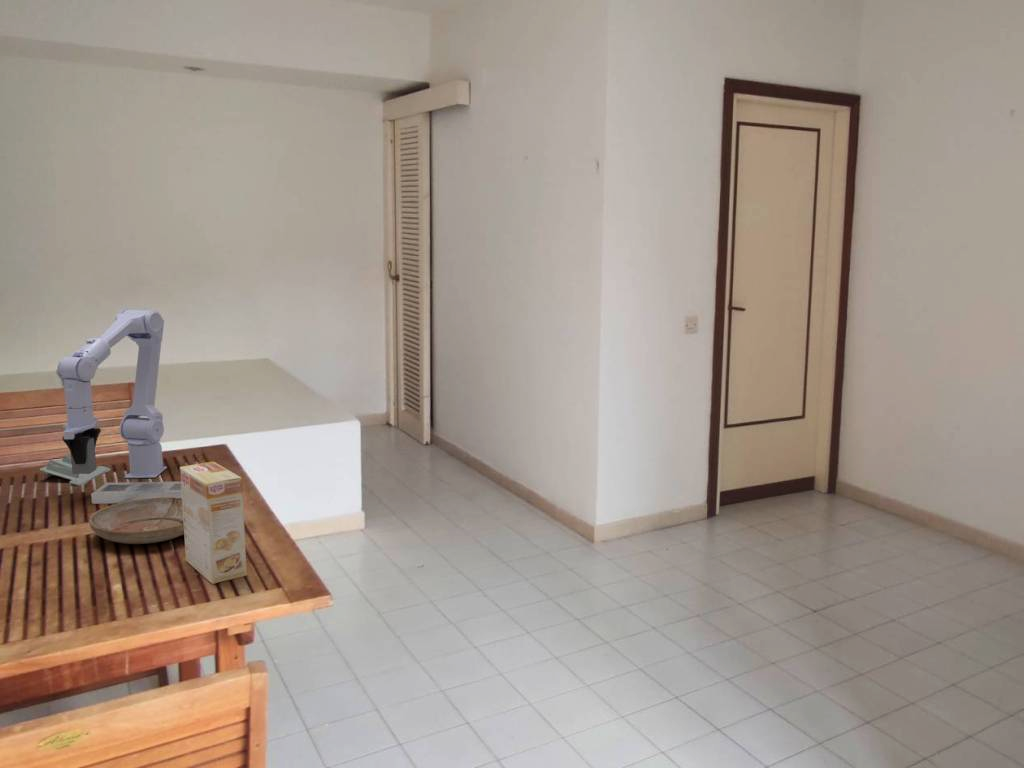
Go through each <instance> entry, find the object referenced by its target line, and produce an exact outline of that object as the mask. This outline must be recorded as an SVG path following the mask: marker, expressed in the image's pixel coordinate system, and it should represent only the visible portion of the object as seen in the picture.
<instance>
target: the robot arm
mask: <svg viewBox="0 0 1024 768" xmlns="http://www.w3.org/2000/svg"><path fill="white" fill-rule="evenodd" d="M114 319H115V321H114V322H113V323H112V324H111V325H110V326H109V327H108V328H107V329H106V330H105V332H104V333H103V334H102V335H101V336H100V337H91V338H88V339H86V343H85V344H84V345H82V346H81V347H80V348H79V349H77V350H76V351H74V353H73V354H72V355H71V356H65V357H63V358H62V359H60V361H58V364H57V369H56V370H55V371H56V375H57V377H58V378H59V380H60V382H61V386H62V388H63V389H64V399H65V401H64V402H65V409H66V419H67V423H65V424H63V425H62V428H63V429H65V430H63V432H62V433H63V434H62V435H63V436H62V441H63V443H64V444H65V445H66V446H67V448H68V449H69V451H71V452H70V455H71V454H72V456H73V459H74V462H75V464H85V462H86V449H87V443H88V440H89V438H92V437H94V446H95V447H96V445H97V442H98V441H97V440H98V438H99V435H100V434H101V428H99V427H98V426H99V417H95V415H94V414H95V413H94V404H93V395H92V394H93V393H92V382H91V380H93V379H94V377H95V375H96V372H97V369H98V367H99V366H100V365H101V364H102V363H103V362H104V361H105V360H107V358H108V357H110V355H111V354H112V352H111V348H113V347H114V346H115V345H116V344H118V343H119V342H120V341H122V340H123V339H124V338H125V337H127V338H129V339H130V340H132V341H133V342H134V343H136V345H137V346H138V353H137V361H136V371H135V378H134V379H135V381H134V389H133V397H132V405H131V406H130V407H128V408H127V409H126V410H124V412H123V417H122V420H121V422H120V424H119V433H120V437H121V438H122V439H123V440H125V441H124V442H125V443H126V444H127V447H128V459H129V471H130V472H129V473H127V474H126V475H125V476H124V478H125V479H154V478H157V477H158V476H159V475H160V474H161V473H163V472H164V471H165V470H166V469H167V468H168V467H167V466H164V464H163V463H164V461H163V459H164V458H163V447H162V444H161V443H160V441H161V438H162V437H163V435H164V432H165V427H164V422H163V419H164V415H163V413H162V412H160V410H158V409H157V408H156V406H155V405H156V404H155V403H156V395H157V387H158V376H159V368H160V357H161V349H162V342H163V335H164V328H165V327H164V326H165V320H164V318H163V317H162V315H161V314H160V312H159V311H158V310H156V309H150V310H147V309H145V310H143V309H142V310H141V309H140V310H139V309H128V308H125V309H122V310H121V311H119V313H117V314H116V315H115V318H114Z"/></svg>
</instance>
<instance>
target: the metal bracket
mask: <svg viewBox="0 0 1024 768" xmlns="http://www.w3.org/2000/svg"><path fill="white" fill-rule="evenodd" d="M96 467H97V469H96V470H95V471H93V472H92V473H90V474H73V473H72V463H71V456H69V455H68V454H65V455H63V457H62V458H60V459H59V460H57V461H55V460H52V459H49V460H48V463H46V465H45V466H43V467H41V468H39V471H40V472H43V473H45V474H46V475H45V479H48V478H50V477H52V476H57V477H60V478H63V479H67V480H70V481H68V482H69V484H72V485H75V486H77V487H78V486H79V487H80V486H83V485H85V484H87V483H88V482H90V481H92V480H93V479H96V478H98V477H99V476H101V475H103V474H105V473H107V472H110V471H111V468H109V467H106V466H103V465H99V466H96Z"/></svg>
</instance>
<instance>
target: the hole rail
mask: <svg viewBox="0 0 1024 768" xmlns="http://www.w3.org/2000/svg"><path fill="white" fill-rule="evenodd" d="M159 497H175V498H182V493H181V480H180V481H137V482H136V481H133V482H131V481H127V482H105V483H104V484H102V485H101V486H100V487H98V488H97V489H96V490H94V491H93V492H92V493H90V498H91V504H92V505H95V504H96V505H98V504H99V505H100V504H101V505H102V504H107V505H109V504H110V505H112V504H118V503H123V502H127V501H133V500H139V499H147V498H159Z"/></svg>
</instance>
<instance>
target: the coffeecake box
mask: <svg viewBox="0 0 1024 768" xmlns="http://www.w3.org/2000/svg"><path fill="white" fill-rule="evenodd" d="M179 475H180V476H179V478H180V481H181V493H182V509H183V523H184V535H183V536H184V551H185V561H186V562H187V563H188V564H189V565H190V566H191V567H192V568H194V569H195V570H196V571H197V572H198V573H199V574H201V575H202V576H203V577H204V578H205V579H206V580H207V581H208V582H209V583H211V584H212V585H215V584H217V583H222V582H225V581H230V580H236V579H240V578H242V577H246V576H248V570H247V553H246V552H247V549H246V536H245V535H246V533H245V531H246V530H245V518H244V517H245V515H244V513H245V512H244V511H245V510H244V499H243V498H244V497H243V494H244V493H243V478H242V477H241V476H240V475H238V474H236V473H234V472H232V471H231V470H229V469H227V468H226V467H224V466H222V465H221V464H218V463H217V462H215V461H208V462H207V461H206V462H201V463H195V464H189V465H184V466H180V467H179Z"/></svg>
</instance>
